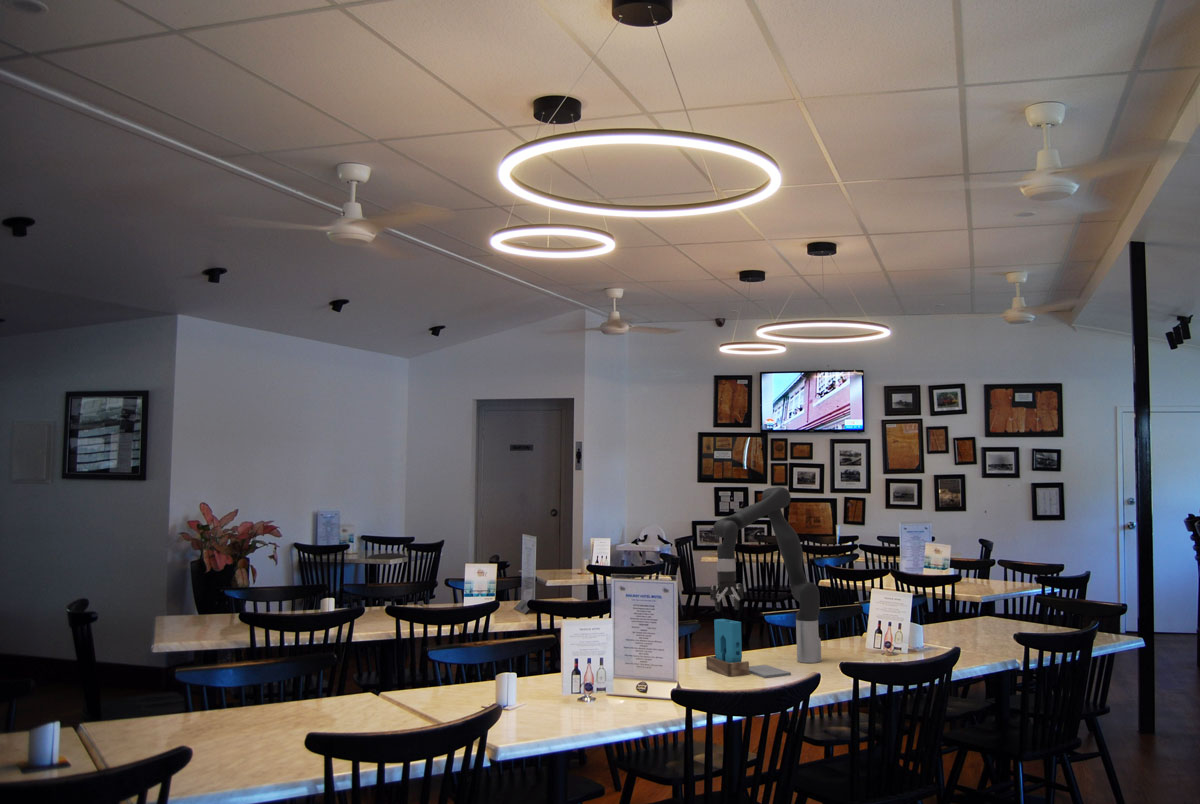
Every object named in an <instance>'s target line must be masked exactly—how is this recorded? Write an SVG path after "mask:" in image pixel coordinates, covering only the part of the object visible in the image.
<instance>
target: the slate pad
mask: <svg viewBox="0 0 1200 804" xmlns="http://www.w3.org/2000/svg"><path fill="white" fill-rule="evenodd" d="M749 674H752V675H755V676H758V677H760V678H763V679H768V678H770V679H771V678H777V677H778V678H779V677H785V676H786V677H787V676H792V672H790V671H788V670H787V671H786V670H785V669H784V670H783V669H781V668H778V667H773V666H771V665H768V664H760V665H758V664H757V665H749Z"/></svg>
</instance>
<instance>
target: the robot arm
mask: <svg viewBox="0 0 1200 804" xmlns="http://www.w3.org/2000/svg"><path fill="white" fill-rule="evenodd" d="M791 496H792V495H791V494H790V492H789V489H787V488H785V487H784V486H783V487H781V486H776V487H769V488H765V489H764V490H763V491H762V493H761V500H759V501H758V502H755V503H753V504H750V505H748V506H745V507H743V508H742V509H740V510H738V511H736V512H735V513H734V514H731V515H727V516H725V517H722V518H721V519H720V518H719V519H718V520H717V521H715V523H714V525H713V528H712V529H713V530H712V532H713V534H714V535H715V536H716V537H717V538H723V540H722V543H720V544H718V545H717V547H716V548H717V549H716V550H717V552H716V553H717V554H716V555H717V556H716V557H717V562H716V572H717V574H716V578H717V585H715V584H710V592H709V593H710V595H709V599H710V600H711V601H714V608H715V611H716V612H721V601H722V600H721V599H722V598H723V597H724V596H732V598H733V599H734V600H733V609H734V610H735V611H738V610H739V609H740V601H741V600H742V599H744V584H743V583H736V581H737V571H736V569H737V567H736V555H735V554H736V553H735V551H736V549H735V548H736V544H737V540H738V535H739V530H743V529H745V528H746V527H748V526H750V525H751V524H753V523H755V522H756V521H758V520H759V519H761V518H763V517H765V516H767V517H768V519H769V521H770V522H769V523H771V526H772V530H773V532H774V536H775V538H776V542H777V546H778V550H779V552H780V555H781V557H782V561H783V563H784V566H785V569H786V573H787V577H788V581H789V586H790V590H791V594H792V597H793V598H794V600H795V601H797V602H798V603H799V609H798V611H797V612H796V613H795V627H796V628H795V629H796V630H795V633H796V657H797V658H796V660H797V662H798V663H804V664H814V663H815V664H816V663H820V662H822V640H821V637H820V636H819V615H820V608H821V606H820V605H821V604H820V603H821V602H820V601H821V600H820V599H821V596H820V590H819V587H818V586H817V584H815V583H813V582H810V581H808V580H807V577H806V574H805V571H804V567H803V560H804V559H803V558H804V555H803V546H802V544H801V540H800V538H799V535H798V533H797V532H796V531H795V529H794V528H793V527H792V525H790V523H789V522H788V521H787V520H786V518H785V516H784V514H783V511H782V509H784V508H786V507H787V506H789V504H790V502H791V500H792V499H791ZM736 589H737V591H736ZM717 590H718V591H717Z"/></svg>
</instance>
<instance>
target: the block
mask: <svg viewBox="0 0 1200 804" xmlns="http://www.w3.org/2000/svg"><path fill="white" fill-rule="evenodd" d="M713 622H714V627H713V628H714V654H715V655H714V656H716V659H719V660H722V661H725V662H728V663H735V662H742V659H743V650H742V649H743V648H742V643H743V640H742V621H738V620H737V621H736V620H731V619H726V618H719V619H718V618H717V619H714V621H713Z"/></svg>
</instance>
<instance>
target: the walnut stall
mask: <svg viewBox="0 0 1200 804" xmlns="http://www.w3.org/2000/svg"><path fill="white" fill-rule="evenodd" d="M705 660H706V670H709V671H711V672H714V673H717V674H721V675H723V676H726V677H728V678H732V677H741V676H748V675H750V673H749V666H750V662H749V661H748V660H747V661H746V660H745V661H741V662H735V663H728V662H725V661H722V660H719V659H716V656H715V655H709V656H708V655H707V656H706V659H705Z"/></svg>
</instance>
